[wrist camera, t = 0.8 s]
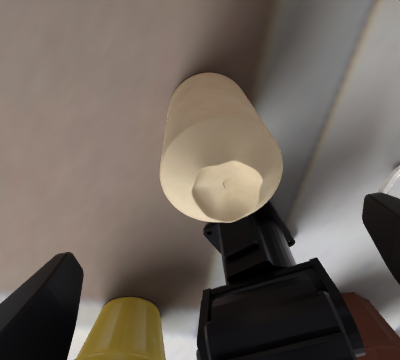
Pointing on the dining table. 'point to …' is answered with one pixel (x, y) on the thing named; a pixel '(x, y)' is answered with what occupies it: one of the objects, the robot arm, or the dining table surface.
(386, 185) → the cup
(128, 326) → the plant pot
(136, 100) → the dining table surface
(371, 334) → the muffin
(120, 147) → the dining table surface
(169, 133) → the candle
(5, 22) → the dining table surface
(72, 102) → the dining table surface
